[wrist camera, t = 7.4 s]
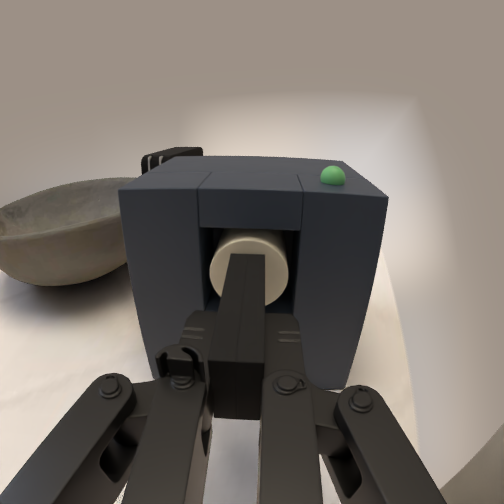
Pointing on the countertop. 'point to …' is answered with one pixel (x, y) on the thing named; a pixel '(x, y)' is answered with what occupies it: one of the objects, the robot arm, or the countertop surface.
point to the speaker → (256, 217)
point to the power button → (253, 244)
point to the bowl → (64, 233)
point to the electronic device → (167, 156)
